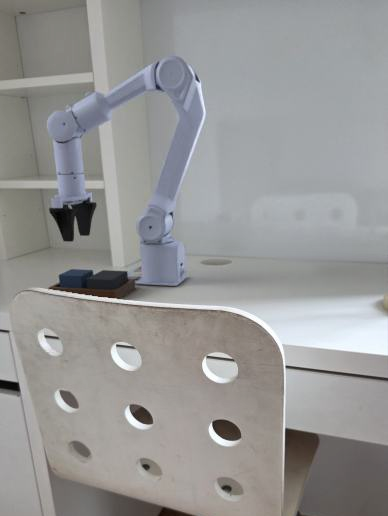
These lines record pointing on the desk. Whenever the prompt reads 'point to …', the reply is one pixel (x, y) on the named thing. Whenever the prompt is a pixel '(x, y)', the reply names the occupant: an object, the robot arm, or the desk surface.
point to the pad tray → (101, 290)
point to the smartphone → (135, 274)
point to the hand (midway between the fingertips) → (76, 238)
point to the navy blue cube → (75, 278)
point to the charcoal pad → (107, 280)
